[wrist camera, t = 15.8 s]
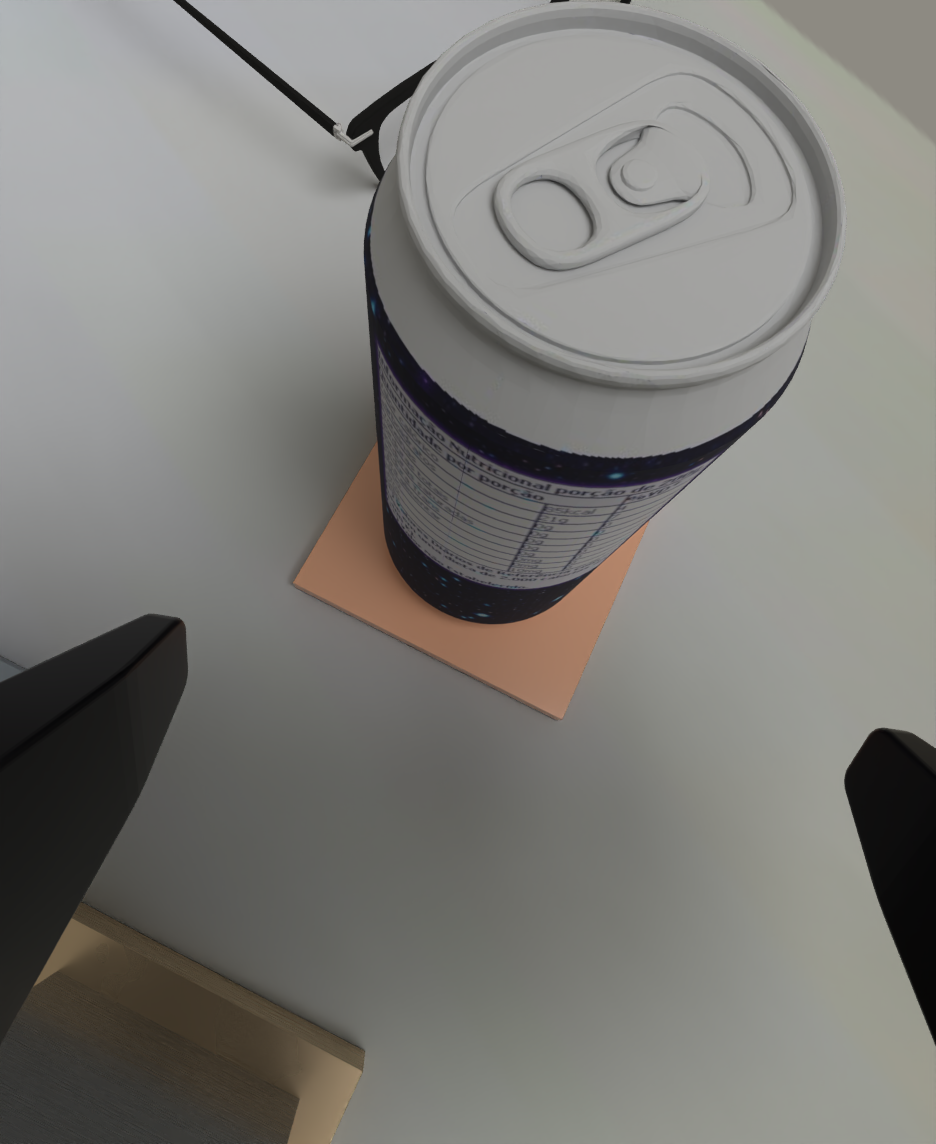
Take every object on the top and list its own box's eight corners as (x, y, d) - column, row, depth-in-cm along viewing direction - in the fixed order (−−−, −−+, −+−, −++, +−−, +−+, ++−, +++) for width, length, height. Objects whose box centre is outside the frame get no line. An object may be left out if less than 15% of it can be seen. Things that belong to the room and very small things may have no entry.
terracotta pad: (556, 720, 18) (562, 719, 17) (295, 587, 18) (292, 582, 18) (662, 479, 20) (670, 471, 20) (428, 363, 20) (429, 352, 20)
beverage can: (623, 568, 19) (987, 279, 7) (449, 669, 17) (545, 516, 6) (518, 407, 20) (690, -80, 8) (347, 491, 18) (259, 61, 7)
